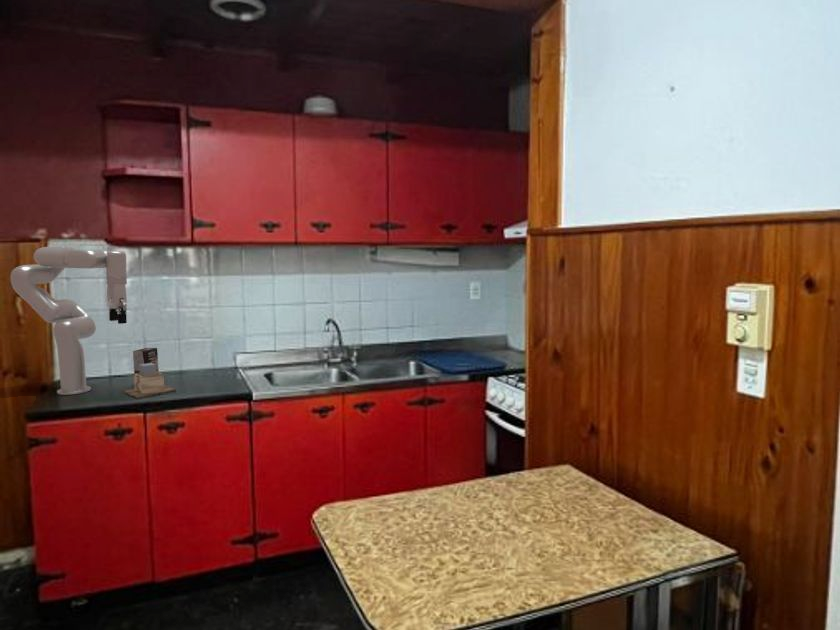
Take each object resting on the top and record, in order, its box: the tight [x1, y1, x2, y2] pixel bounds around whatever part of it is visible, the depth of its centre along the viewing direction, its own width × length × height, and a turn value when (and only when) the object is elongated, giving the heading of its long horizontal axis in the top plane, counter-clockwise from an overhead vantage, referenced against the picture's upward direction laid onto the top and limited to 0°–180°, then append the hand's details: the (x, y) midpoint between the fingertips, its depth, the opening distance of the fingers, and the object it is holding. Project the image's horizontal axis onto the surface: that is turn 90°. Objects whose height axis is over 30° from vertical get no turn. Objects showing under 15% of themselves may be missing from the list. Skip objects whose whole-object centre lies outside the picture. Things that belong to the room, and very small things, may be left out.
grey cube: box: [139, 363, 156, 377], centre depth 255 cm, size 5×5×5 cm
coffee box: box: [132, 347, 160, 375], centre depth 270 cm, size 9×6×16 cm
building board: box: [122, 371, 177, 399], centre depth 256 cm, size 16×16×8 cm
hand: (117, 321), depth 251 cm, fingers open, 9 cm apart
